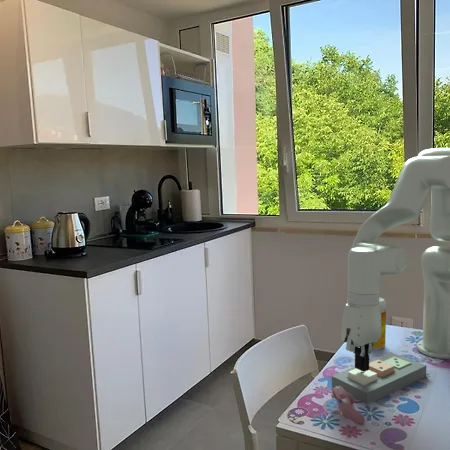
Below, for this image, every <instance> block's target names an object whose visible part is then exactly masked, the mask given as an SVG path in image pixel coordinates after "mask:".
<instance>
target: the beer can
mask: <svg viewBox="0 0 450 450" xmlns="http://www.w3.org/2000/svg"><path fill="white" fill-rule="evenodd" d="M379 304H380V310H381V336H380V338H379V339H378V342H377V343H375V344H374V345H373V346H372V350H381V349H383V348H384V347H385V346H386V329H387V320H386V319H387V303H386V300H385V298H383V297H380V296H379Z"/></svg>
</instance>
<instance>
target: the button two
mask: <svg viewBox="0 0 450 450" xmlns="http://www.w3.org/2000/svg"><path fill="white" fill-rule="evenodd" d="M369 370H370V371H373V372H375V373H377V376H380V377H382V378H383V377H385V376H387V375H389V374H392V373H394V365H391V364H389V363H386V362H383V361H381V360H376V361H373V362H371V363H369Z"/></svg>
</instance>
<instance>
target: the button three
mask: <svg viewBox="0 0 450 450" xmlns="http://www.w3.org/2000/svg"><path fill="white" fill-rule="evenodd" d="M383 362H386V363H389V364H391V365H394V368H396V369H398V370H401V369H403V368H405V367H407V366H409V365H411V363H410V362H407V361H405V360H402V359H399V358H397V357H392V358H390V359H388V360H385V361H383Z"/></svg>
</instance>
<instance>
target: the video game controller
mask: <svg viewBox="0 0 450 450" xmlns="http://www.w3.org/2000/svg"><path fill="white" fill-rule="evenodd" d="M331 393H332V394H331ZM331 393H330V397H331V399H333V400H334V399H335V400H336V403H337V406H338V409H339V411H340V413H341V416H342V417H344V418H345V419H348V420H349V421H350V422H352V423H354V424H357V425H364V424H365V422H366V419H365V416H364V415H363V414H362V413H361V412H360V411H359V410H357V409H356V408H354V406H353V405H354V404H355V402H356V399H355V398H354V397H353V396H352V395H351V394H350V393H348V392H347V391H345V390H344V389H343V388H342V387H340V386H338V387H337V386H336V387H334V388H333V387H332V388H331Z"/></svg>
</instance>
